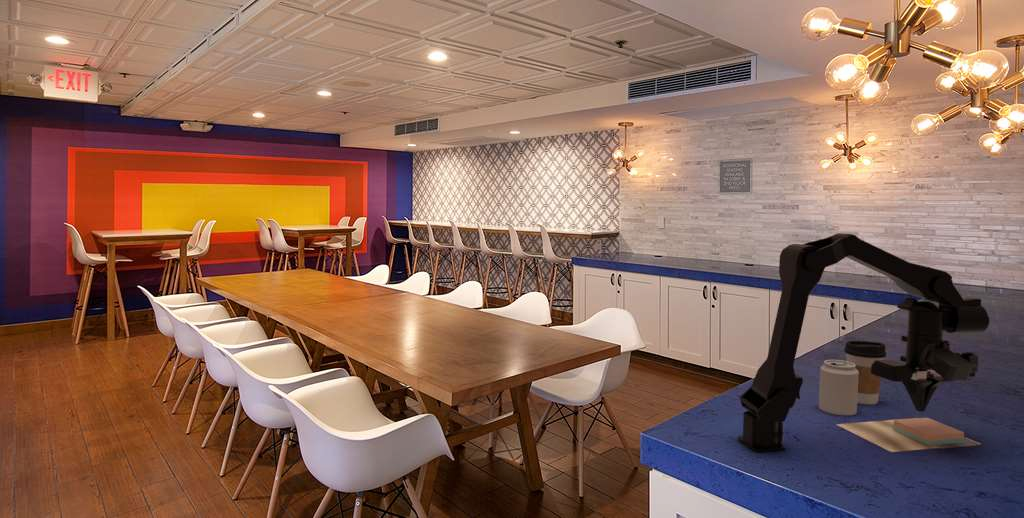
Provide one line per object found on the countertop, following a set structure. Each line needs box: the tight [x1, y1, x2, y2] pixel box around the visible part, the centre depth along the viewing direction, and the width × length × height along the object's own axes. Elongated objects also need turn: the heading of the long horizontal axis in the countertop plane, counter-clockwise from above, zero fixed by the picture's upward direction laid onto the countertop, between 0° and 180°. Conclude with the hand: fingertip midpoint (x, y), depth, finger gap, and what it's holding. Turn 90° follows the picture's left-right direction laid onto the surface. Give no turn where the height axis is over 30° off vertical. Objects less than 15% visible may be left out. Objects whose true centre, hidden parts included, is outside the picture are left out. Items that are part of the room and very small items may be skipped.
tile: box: [893, 417, 965, 446], centre depth 115 cm, size 2×8×8 cm
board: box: [836, 417, 982, 453], centre depth 116 cm, size 20×14×1 cm
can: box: [818, 359, 859, 416], centre depth 130 cm, size 8×8×12 cm
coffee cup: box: [843, 340, 887, 405], centre depth 136 cm, size 8×8×15 cm
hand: (920, 411), depth 114 cm, fingers closed
